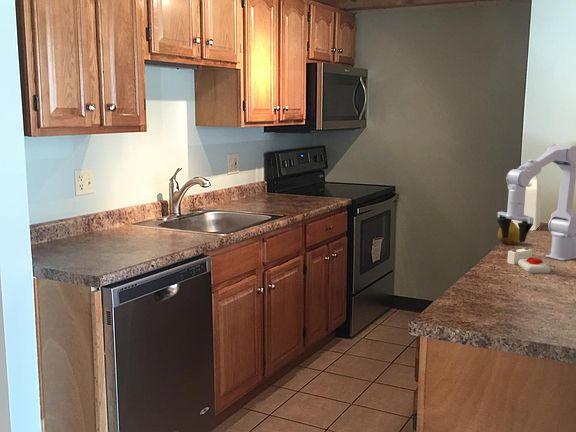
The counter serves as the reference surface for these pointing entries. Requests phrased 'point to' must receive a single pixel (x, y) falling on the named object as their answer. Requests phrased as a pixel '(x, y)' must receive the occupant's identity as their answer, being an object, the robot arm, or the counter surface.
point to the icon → (534, 265)
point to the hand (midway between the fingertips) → (513, 239)
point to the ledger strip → (518, 255)
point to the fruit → (510, 235)
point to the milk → (532, 203)
